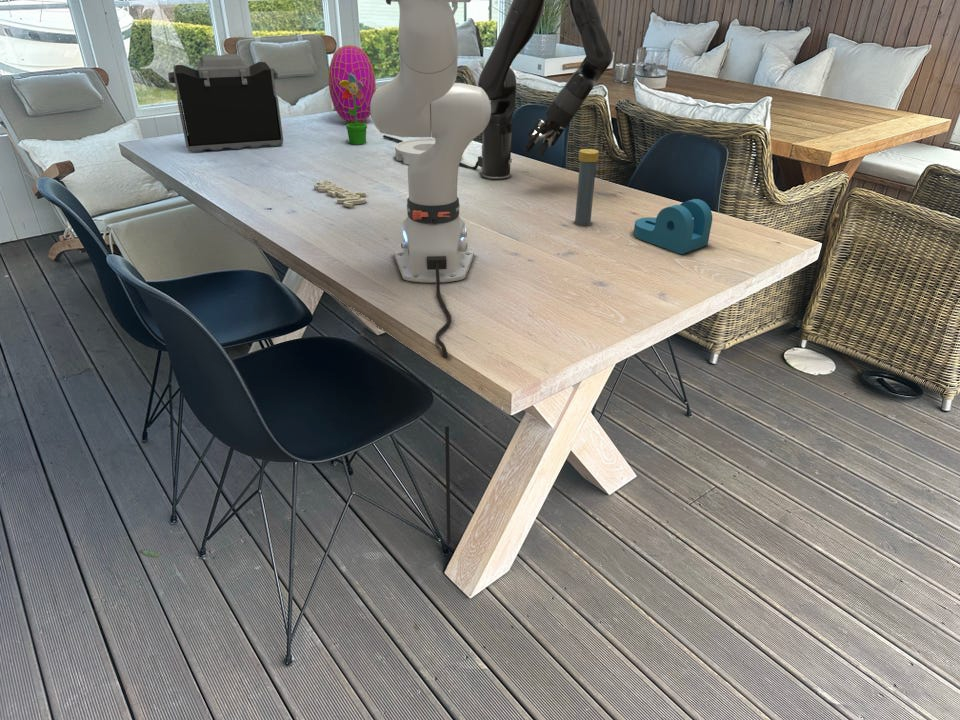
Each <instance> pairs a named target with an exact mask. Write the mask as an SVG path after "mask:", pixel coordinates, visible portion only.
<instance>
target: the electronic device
mask: <svg viewBox="0 0 960 720" xmlns="http://www.w3.org/2000/svg"><path fill="white" fill-rule="evenodd" d="M172 68H173V69H172V71H171V72H170V71H169V72H168V75H167V79H168V83H169V84H174V85H175V90H176V95H177V96H176V97H177V107H178V112H179V116H180V121H181V127H182V131H183V136H184V142H185V146H186V149H187V151H188V152H192V153H201V152H203V151H205V150H210V151H213V152H217V151H222V150H223V149H231V150H241V149H243V148H246V147H250V148H253V149H257V148H258V149H259V148H261V147H263V146H270V147H280V146H281V145H283V144H284V135H283V128H282V119H281V118H282V117H281V111H280V104H279V98H278V95H277V93H276V92H277V91H276V84H275V80H276V79H278V78H279V77H278V76H279V73H278V72H277V70H275V68H271V67H270V66H269V64H268V63H267V62H266V61H258V62H255V63H254V64H252V65H250V66H248V63H246V61H245V60H243V59H242V58H241V57H240V55H239V54H238V53H225V54H221V55H220V54H218V55H215V54H214V53H213V54H201V56H200V60H198V61H196V68H197V69H196V68H192V67H190V66H187V65H183V64H174V65H173V67H172Z"/></svg>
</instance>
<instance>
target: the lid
mask: <svg viewBox="0 0 960 720" xmlns="http://www.w3.org/2000/svg"><path fill="white" fill-rule="evenodd" d="M578 151H579V152H578V161H579V162H580V161H583V162H596V163H597V162H598V161H599V155H600V152H599V150H597V149H594V148H582V149H579V150H578Z"/></svg>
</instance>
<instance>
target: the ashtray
mask: <svg viewBox="0 0 960 720" xmlns="http://www.w3.org/2000/svg"><path fill="white" fill-rule="evenodd" d="M402 141H403V142H397V143H396V144H395V146H394V150H395V151H394V152H395V153H394V154H395V160H396V161H397V162H403V164H404V165H408V166H409V164H410V162H411V161H412V159H414V158H415V157H416V156H418V155H419V154H421V153H423V152H425V151H427V150H429V149H430V148H432V147H433V145H434V144H435V142H436V139H435V138H416V139H415V138H414V139H408V140H402Z"/></svg>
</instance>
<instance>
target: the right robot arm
mask: <svg viewBox="0 0 960 720" xmlns="http://www.w3.org/2000/svg"><path fill="white" fill-rule="evenodd" d="M567 1H568V6H569V12H570V14H571V17H572V19H573V22H574V25H575V28H576V30H577V33H578V35H579V37H580V39H581V44H582V48H583V50H584V55H585V57H584V58H583V60H582V61H581V63H580V65H579V66H578V68H577V69H576V70H575V71H574V72H573V74H571V76H570V77H569V79H568V80H567V82H566V83H565V84H564V86H563V87H562V88H560V90H559V91H558V93H557V94H556V96H555V97H554V99H553V100H552V102H551V103H550V104H549V106H548V108H547V109H546V110H545V115H546V118H545V119H544V120H543V119H542V118H538V120H537V121H536V122H535V124H534V125H533V126H532V128H531V129H530V130H529V132H528V133H527V137H529V138H528V141H527V142H526V144H525V145H524V146H523V147H522V152H524V153H526V154H528V155H529V154H530V153H531V151H532V150H533V149H534V147H535V146H536V144H537V143H538V142H540V141H541V140H542V142H541V143H540V145H539V146H538V148H537V149H536V150H535V154H536V155H537V156H538V157H541V158H542V156H543V155H544V153H546V151H547V149H548V148H550V147H551V146H552V147H554V146H555V145H556V143H557V141H558V140H559V139H560V137H561V136H562V134H563V133H564V131H565V128H567V126H568V125H569V124H570V122H571V121H572V120H573V118H574V117H575V116H576V114H577V112H579V110H580V108H581V107H582V105H583V104H584V101H586V99H587V98H588V96H589V94H590V93H591V91H592V90H593V89H594V86H595V84H596V83H597V82H598V80H599V79H600V78H601V77H602V75H603V74H604V73H605V72H606V70H607V69H608V68H609V67H610V65H611V64H612V62H613V60H614V49H613V47H612V46H611V44H610V42H609V38H608V36H607V34H606V31H605V29H604V24H603V20H602V16H601V14H600V10H599V8H598V5H597V2H596V0H567ZM545 5H546V0H512V1H511V3H510V6H509V7H508V11H507V13H506V16H505V19H504V22H503V25H502V27H501V29H500V32H499V34H498V36H497V39H496V42H495V44H494V47H493V49H492V51H491V53H490V54H489V57H488V59H486V60H487V61H486V62H485V64H484V66H483V68H482V70H481V72H480V74H479V77H478V80H477V87H481V88H482V89H483V90H484V91H485V92H486V94H487V96H488V98H489V100H490V104H491V117H490V120H489V123H488V125H487V127H486V128H485V130H484V131H483V132H482V138H481V139H482V143H481V155H480V156H477V160H476V162H475V166H471V165H468V164H466V163H463V162H461V161H460V163H459V166H461V167H463V168H466V169H469V170H470V169H471V170H476V169H478V168H479V167H481V177H482V178H484V179H488V180H505V179H509V178H510V177H511V164H512V162H513V158H512V157H511V156H512V126H513V125H512V124H513V116H514V114H515V110H516V99H517V77H516V74H515V72H514V71H513V69H512V68H511V66H512V63H514V60H515V59H516V57H517V56H518V55H519V54H520V53H521V51H522V50H523V49H524V48H525V47H526V45H527V44H528V43H529V41H531V39H532V38H533V36H534V34H535V32H536V30H537V29H538V26H539V23H540V21H541V19H542V16H543V13H544V11H545ZM382 138H384V139H387V140H390V141H394V142H397V143H400V142H403V141H404V140H401V139H400V138H396V137H394V136H393V137H392V136H390V135H386V134H383V135H382Z"/></svg>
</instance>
